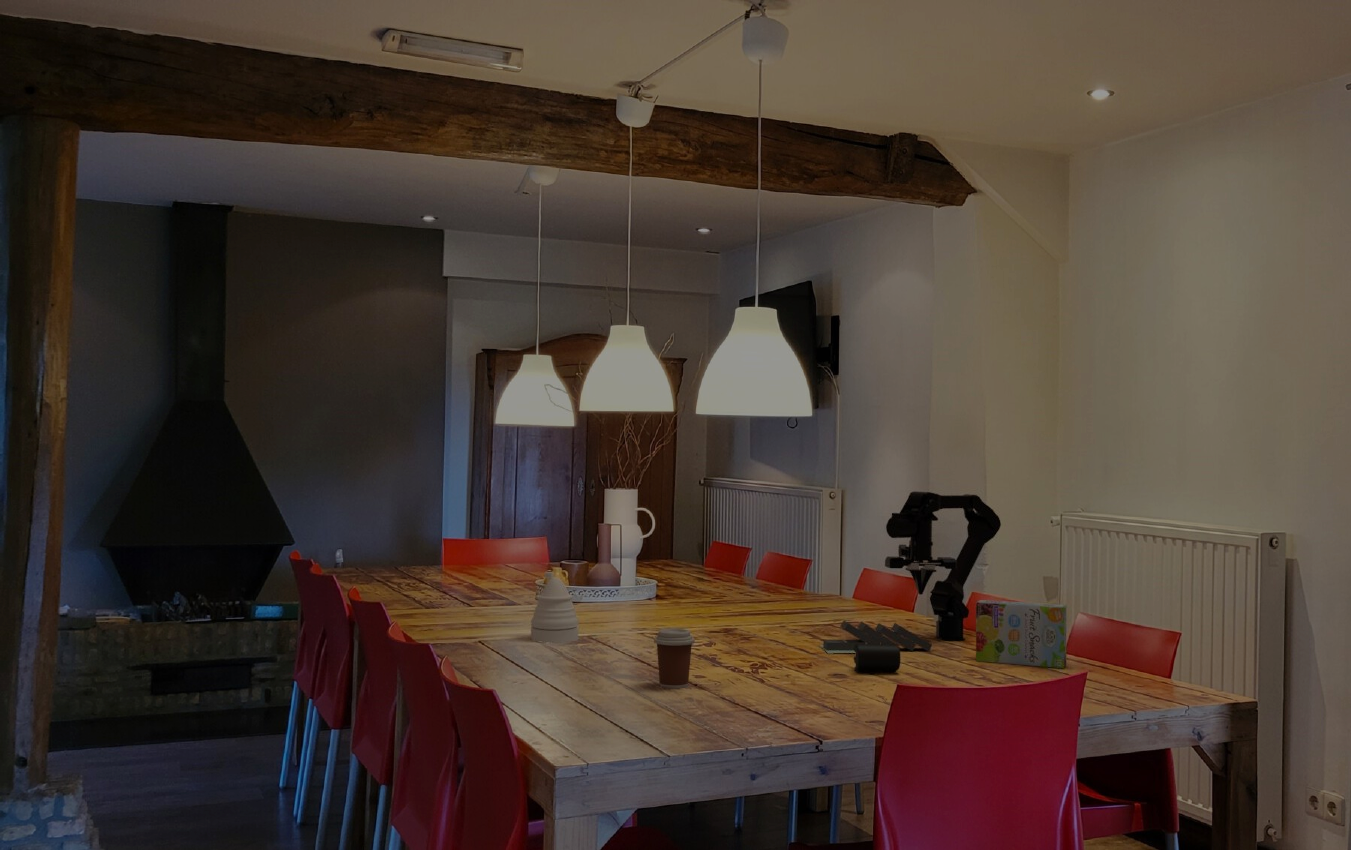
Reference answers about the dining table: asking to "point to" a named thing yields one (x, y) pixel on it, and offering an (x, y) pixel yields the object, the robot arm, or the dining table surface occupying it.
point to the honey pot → (554, 614)
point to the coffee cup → (674, 657)
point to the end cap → (877, 657)
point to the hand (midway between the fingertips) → (920, 594)
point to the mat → (838, 651)
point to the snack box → (1021, 633)
